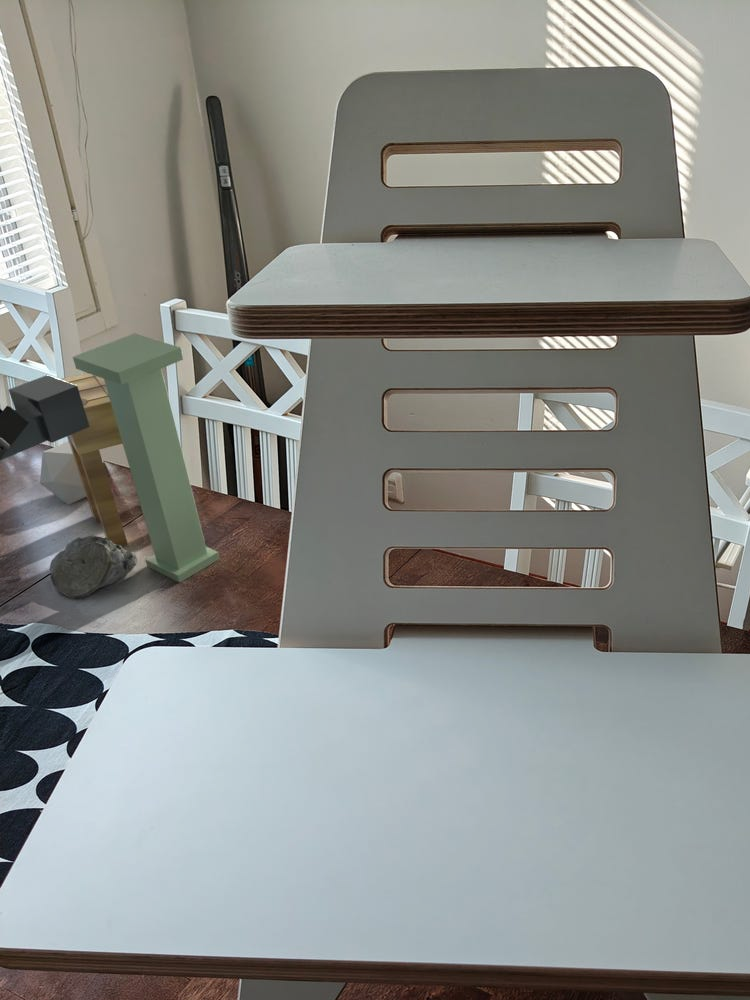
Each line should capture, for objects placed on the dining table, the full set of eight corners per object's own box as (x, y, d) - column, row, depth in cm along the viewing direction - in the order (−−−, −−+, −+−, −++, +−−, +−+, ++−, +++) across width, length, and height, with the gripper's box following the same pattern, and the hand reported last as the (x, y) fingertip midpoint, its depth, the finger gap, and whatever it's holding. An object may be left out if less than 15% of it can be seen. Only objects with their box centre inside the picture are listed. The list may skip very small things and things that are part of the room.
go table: (90, 515, 147) (46, 381, 134) (169, 493, 151) (133, 361, 138) (109, 551, 138) (64, 412, 125) (192, 526, 143) (157, 389, 130)
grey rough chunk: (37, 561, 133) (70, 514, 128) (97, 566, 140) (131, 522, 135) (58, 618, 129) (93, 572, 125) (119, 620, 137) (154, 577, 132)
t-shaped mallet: (60, 415, 116) (47, 374, 113) (90, 426, 113) (77, 385, 110) (-69, 467, 106) (-87, 425, 103) (-40, 482, 103) (-58, 438, 100)
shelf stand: (178, 588, 130) (118, 372, 112) (136, 567, 134) (72, 356, 116) (230, 558, 135) (180, 347, 117) (188, 538, 140) (134, 333, 122)
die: (94, 478, 157) (39, 440, 151) (125, 462, 152) (69, 421, 146) (73, 520, 153) (16, 482, 147) (104, 504, 148) (46, 464, 141)
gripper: (-140, 575, 109) (-10, 413, 115) (-63, 627, 101) (74, 449, 106) (-202, 540, 103) (-61, 370, 109) (-125, 592, 95) (24, 404, 100)
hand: (5, 409), depth 107 cm, fingers closed on t-shaped mallet, 4 cm apart
